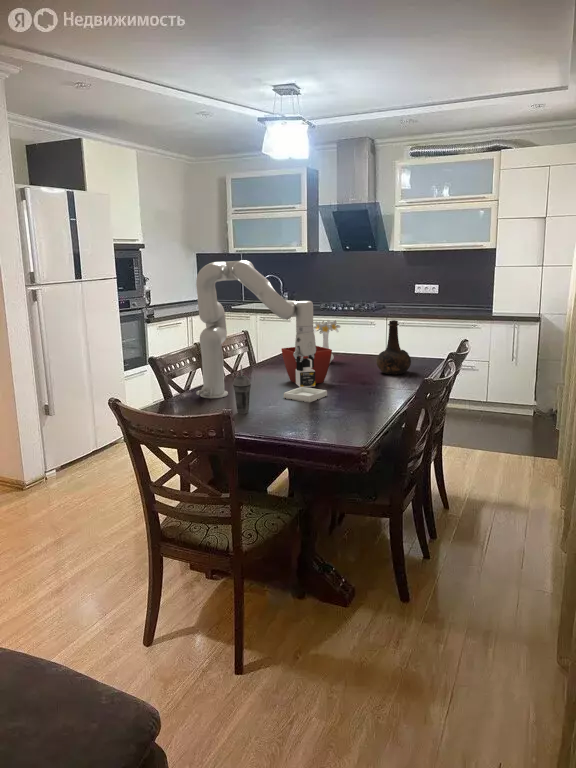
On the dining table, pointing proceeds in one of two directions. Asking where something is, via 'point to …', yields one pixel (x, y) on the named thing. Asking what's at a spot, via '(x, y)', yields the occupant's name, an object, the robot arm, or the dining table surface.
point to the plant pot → (320, 356)
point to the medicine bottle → (306, 374)
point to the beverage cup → (242, 393)
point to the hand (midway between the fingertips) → (305, 368)
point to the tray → (305, 394)
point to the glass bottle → (393, 354)
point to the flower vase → (326, 331)
